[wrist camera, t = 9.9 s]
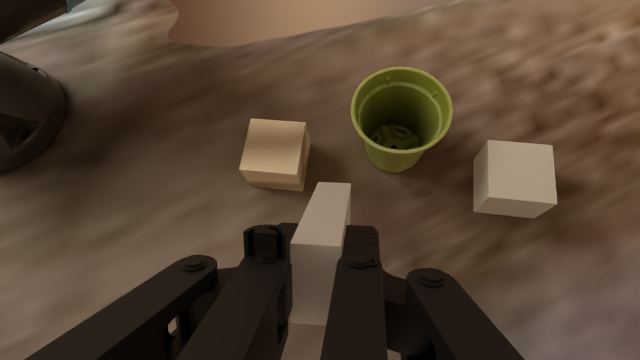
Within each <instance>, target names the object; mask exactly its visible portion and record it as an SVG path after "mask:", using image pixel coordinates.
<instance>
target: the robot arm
mask: <svg viewBox="0 0 640 360" xmlns="http://www.w3.org/2000/svg"><path fill="white" fill-rule="evenodd" d="M84 1H85V0H0V44H2V43H4V42H6V41H8V40H10V39H12V38H14V37H16V36H18V35H21V34H23V33H25V32H27V31H29V30H31V29H33V28H35V27H37V26H39V25H41V24H44V23H46V22H48V21H50V20H52V19H54V18H56V17H58V16H60V15H62V14H65V13H69V12H71V10H72V8H74V7H75V6H77V5H79V4H80V3H82V2H84ZM65 112H66V98H65V94H64V91H63V89H62V87H61V86H60V85H59V83H58V82H57V81H55V80H54V79H53V78H52V77H51V76H49V75H48V74H47V73H46V72H45V71H43V70H42V69H40V68H38V67H37V66H35V65H32V64H30V63H26V62H23V61H21V60H19V59H17V58H15V57H13V56H10V55H8V54H5V53H3V52H0V173H1V172H6V171H9V170H12V169H15V168H17V167H19V166H21V165H23V164H25V163H27V162H28V161H30V160H32V159H33V158H34V157H36V156H37V155H38V154H40V153H41V152H42V151H43V150H44V149H45V148H46V147H47V146H48V145H49V144H50V143H51V141H52V140H53V139H54V137H55V136H56V134H57V133H58V131H59V129H60V127H61V125H62V123H63V120H64V117H65ZM350 201H351V183H331V182H318V184H317V186H316V188H315V190H314V193H313V195H312V197H311V199H310V201H309V203H308V206H307V208H306V210H305V212H304V214H303V216H302V219H301V221H300V223H280V224H279V225H258V226H253V227H250V228H248V229H246V230H245V231H244V232H243V235H244V253H245V257H244V258H243V260H242V261H241V263H240V264H239V266H238V267H233V268H224V269H217V261H216V260H215V259H214V258H212V257H210V256H203V255H196V256H195V255H191V256H189V257H186V258H183V259H180V260H178V261H176V262H175V263H173V264H172V265H170V266H168V267H167V268H165V269H164V270H162V271H161V272H159V273H158V274H156V275H155V276H153V277H151V278H150V279H148V280H147V281H145V282H144V283H142V284H141V285H139V286H137V287H136V288H134V289H133V290H131V291H130V292H128V293H127V294H125V295H124V296H122V297H120V298H119V299H117V300H116V301H114V302H113V303H111V304H110V305H108V306H107V307H105V308H103V309H102V310H100V311H99V312H97V313H96V314H94V315H93V316H91V317H89V318H88V319H86V320H85V321H83V322H82V323H80V324H79V325H77V326H76V327H74V328H72V329H71V330H69V331H68V332H66V333H65V334H63V335H62V336H60V337H58V338H57V339H55V340H54V341H52V342H51V343H49V344H48V345H46V346H45V347H43V348H41V349H40V350H38V351H37V352H35V353H34V354H32V355H31V356H29V357H27V358H26V359H24V360H280V359H281V356H282V353H283V349H284V346H285V343H286V340H287V336H288V318H289V315H290V312H291V321H292V323H300V324H312V325H324V326H326V330H325V336H324V341H323V347H322V353H321V359H320V360H388V356H387V349H389V350H392V351H395V352H398V353H401V360H524V359H523V357H522V356H521V355H520V354H519V353H518V352H517V350H516V349H515V348H514V347H513V346H512V345H511V344H510V342H509V341H508V340H507V339H506V338H505V337H504V335H503V334H502V333H501V332H500V331H499V330H498V329H497V327H496V326H495V325H494V324H493V323H492V322H491V320H490V319H489V318H488V317H487V316H486V315H485V314H484V312H483V311H482V310H481V309H480V308H479V307H478V305H477V304H476V303H475V302H474V301H473V300H472V299H471V297H470V296H469V295H468V294H467V293H466V292H465V290H464V289H463V288H462V287H461V286H460V285H459V284H458V282H457V281H456V280H455V279H454V278H453V277H451V276H450V275H449V274H447V273H445V272H442V271H440V270H437V269H433V268H421V269H415V270H413V271H411V272H409V273H408V275H407V279H402V278H399V277H395V276H393V275H391V274H388V273H387V272H386V271H384V270H383V269H382V264H381V262H380V254H379V237H378V231H377V230H376V229H375V228H374V227H373V226H356V225H350ZM174 318H176V326H177V329H175V330H174V331H173V332H172V333H170V334H169V332H168V324H169V323H170V322H171V321H172V320H173V319H174Z"/></svg>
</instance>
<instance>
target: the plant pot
mask: <svg viewBox="0 0 640 360" xmlns="http://www.w3.org/2000/svg"><path fill="white" fill-rule="evenodd" d="M452 116H453V107H452V101H451V98H450V96H449V94H448V92H447V90H446V88H445V87H444V86H443V85H442V84H441V83H440V82H439V81H438V80H437V79H436V78H434V77H433V76H431V75H430V74H428V73H426V72H424V71H421V70H418V69H415V68H410V67H391V68H387V69H383V70H380V71H378V72H376V73H373V74H372V75H370V76H369V77H367V78H366V79H365V80H364V81H363V82H362V83H361V84H360V85H359V86H358V88H357V89H356V91H355V93H354V96H353V98H352V103H351V117H352V122H353V125H354V127H355V129H356V131H357V132H358V134H359V135H360V136H361V138H362V139H363V140H364V143H365V147H366V151H367V155H368V157H369V159H370V160H371V162H372V163H373V164H374V165H375V166H376V167H377V168H379V169H380V170H383V171H386V172H390V173H398V172H402V171H404V170H407V169H409V168H411V167H412V166H414V165H415V164H416V162H417V161H418V160H419V158H420V157H421V155H422V154H423V153H424V151H425V150H426V149H428V148H430V147H432V146H433V145H435V144H436V143H437V142H439V141H440V140H441V139H442V138H443V136H444V135H445V134H446V132H447V130H448V129H449V126H450V124H451V121H452ZM396 129H399V130H403V131H405V132H406V134H403V133H400V132H397V131H395V130H396ZM375 137H378V139H377V140H376V142H375V143H374V142H373V139H374V138H375ZM393 145H394V146H396V149H392V146H393Z"/></svg>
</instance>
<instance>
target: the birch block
mask: <svg viewBox="0 0 640 360" xmlns="http://www.w3.org/2000/svg"><path fill="white" fill-rule="evenodd" d="M310 145H311V143H310V139H309V134H308V130H307V126H306V122H292V121H279V120H266V119H253V118H251V120H250V124H249V129H248V133H247V137H246V142H245V146H244V150H243V155H242V159H241V163H240V168H239V170H240V171H241V173H242V174H243V176H244V177H245V178H246V180H247V181H248V182H249V184H250V185H251V186H253V187H263V188H273V189H283V190H293V191H303V188H304V182H305V176H306V170H307V164H308V157H309V151H310Z"/></svg>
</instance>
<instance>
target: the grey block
mask: <svg viewBox="0 0 640 360" xmlns="http://www.w3.org/2000/svg"><path fill="white" fill-rule="evenodd" d="M555 205H557V193H556V181H555V170H554V158H553V146H552V145H544V144H532V143H520V142H508V141H496V140H487V142H486V143H485V144H484V146H483V147H482V149H481V150H480V152H479V153H478V154H477V156H476V157H475V159H474V160H473V212H478V213H487V214H497V215H506V216H515V217H525V218H536V217H537V216H539V215H540V214H542V213H544V212H545V211H547V210H548V209H550V208H552V207H553V206H555Z"/></svg>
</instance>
